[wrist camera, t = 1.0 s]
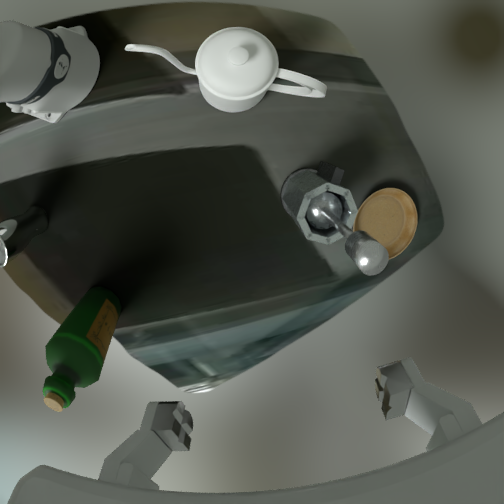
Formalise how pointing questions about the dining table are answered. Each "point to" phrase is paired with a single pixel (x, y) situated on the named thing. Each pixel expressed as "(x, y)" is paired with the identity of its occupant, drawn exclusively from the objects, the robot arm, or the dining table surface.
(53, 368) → the bottle
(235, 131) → the dining table surface
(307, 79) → the coffeepot
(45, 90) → the robot arm
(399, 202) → the plant saucer
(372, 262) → the dumbbell
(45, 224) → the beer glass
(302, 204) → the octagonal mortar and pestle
